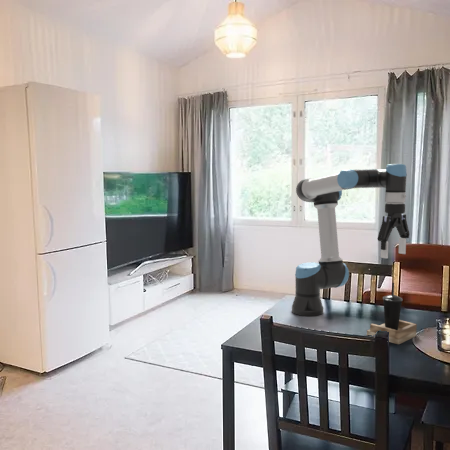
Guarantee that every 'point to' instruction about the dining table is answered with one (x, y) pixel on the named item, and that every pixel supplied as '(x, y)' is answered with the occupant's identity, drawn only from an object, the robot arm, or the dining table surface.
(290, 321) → the dining table surface
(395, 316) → the drinking cup
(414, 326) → the tray
